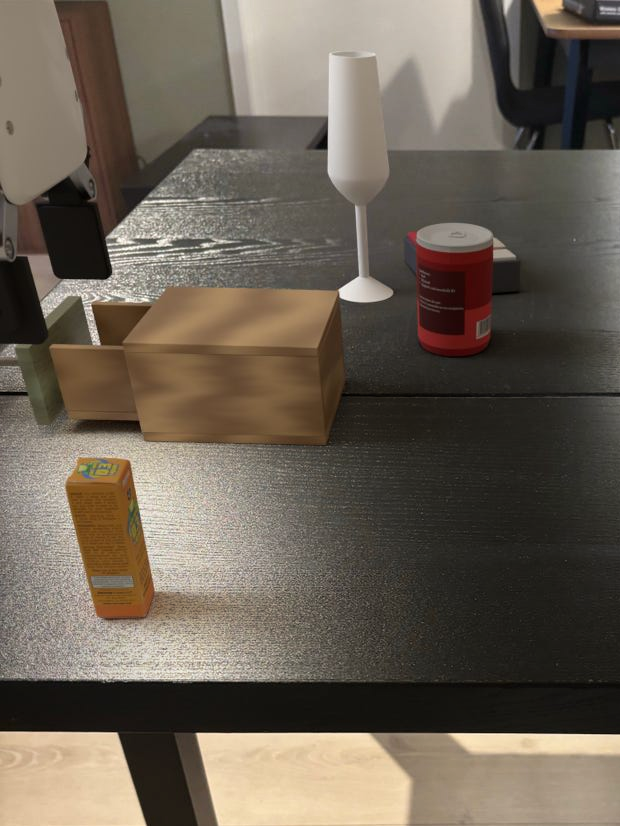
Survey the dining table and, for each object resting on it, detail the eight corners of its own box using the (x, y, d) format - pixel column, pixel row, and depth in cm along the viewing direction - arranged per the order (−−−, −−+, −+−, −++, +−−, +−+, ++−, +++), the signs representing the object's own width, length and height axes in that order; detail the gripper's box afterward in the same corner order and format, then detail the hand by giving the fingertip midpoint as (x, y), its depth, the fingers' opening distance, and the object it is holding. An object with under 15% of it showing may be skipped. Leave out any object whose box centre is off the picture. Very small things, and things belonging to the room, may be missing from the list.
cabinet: (143, 440, 80) (121, 342, 75) (184, 376, 91) (167, 286, 85) (326, 445, 80) (317, 347, 75) (345, 380, 91) (339, 290, 85)
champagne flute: (325, 296, 109) (306, 55, 94) (355, 279, 114) (341, 47, 99) (375, 306, 107) (363, 60, 92) (403, 289, 112) (397, 53, 97)
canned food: (483, 327, 102) (486, 221, 95) (497, 356, 96) (501, 244, 89) (413, 330, 101) (411, 223, 94) (422, 359, 95) (421, 246, 88)
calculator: (486, 225, 120) (521, 253, 109) (486, 260, 123) (520, 291, 111) (402, 229, 118) (429, 259, 106) (404, 265, 120) (430, 298, 109)
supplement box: (151, 618, 61) (117, 482, 54) (96, 620, 60) (56, 483, 54) (160, 589, 63) (129, 455, 57) (108, 590, 63) (71, 456, 57)
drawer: (-31, 423, 80) (-57, 345, 75) (26, 365, 89) (5, 293, 85) (207, 429, 80) (193, 352, 76) (237, 371, 90) (227, 299, 85)
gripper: (-53, -108, 46) (43, 257, 56) (-284, -109, 32) (-99, 371, 43) (100, -105, 46) (168, 259, 56) (-65, -105, 32) (65, 374, 43)
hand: (52, 307), depth 49 cm, fingers open, 9 cm apart
